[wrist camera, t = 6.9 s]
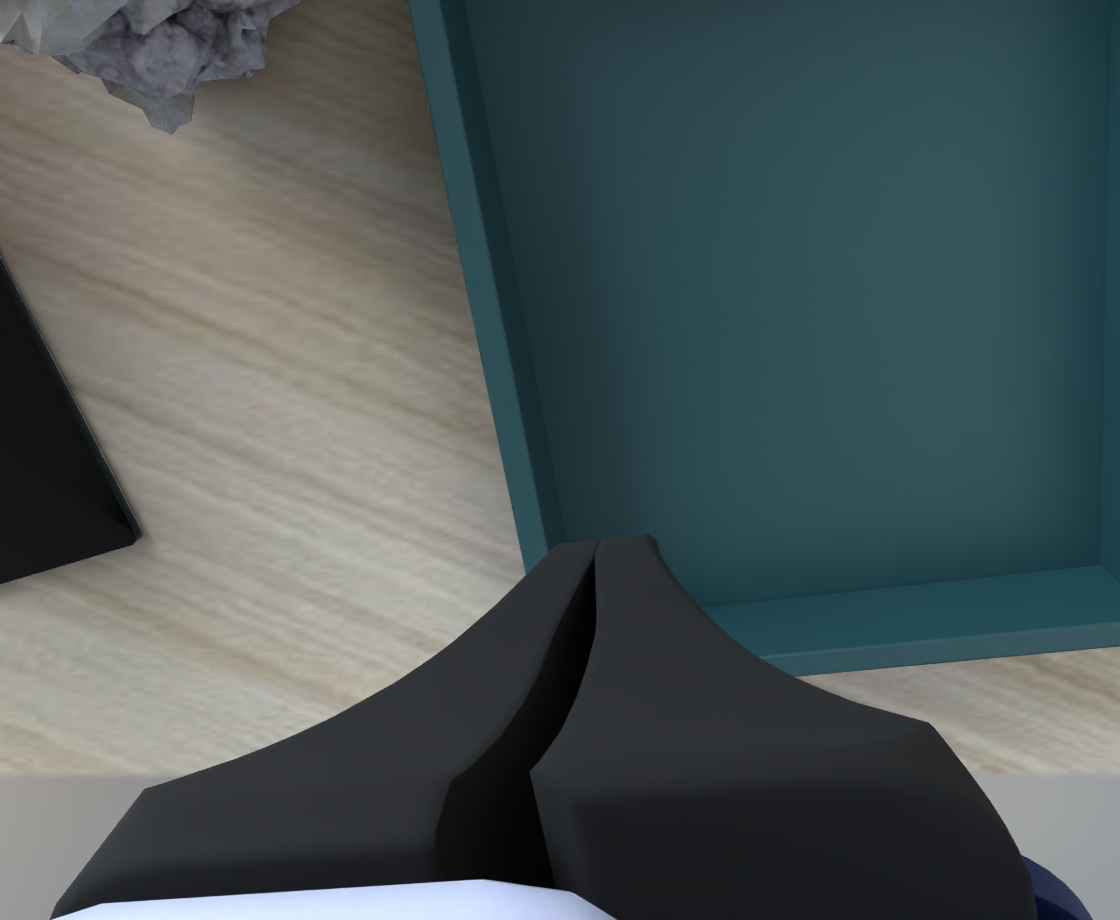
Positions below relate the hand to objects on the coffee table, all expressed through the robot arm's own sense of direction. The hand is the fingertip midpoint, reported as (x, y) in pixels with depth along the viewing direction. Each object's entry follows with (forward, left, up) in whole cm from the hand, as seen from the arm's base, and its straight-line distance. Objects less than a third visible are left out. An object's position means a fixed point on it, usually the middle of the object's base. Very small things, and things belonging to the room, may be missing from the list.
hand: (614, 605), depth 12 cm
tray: (+3, -4, -9) cm, 10 cm away
